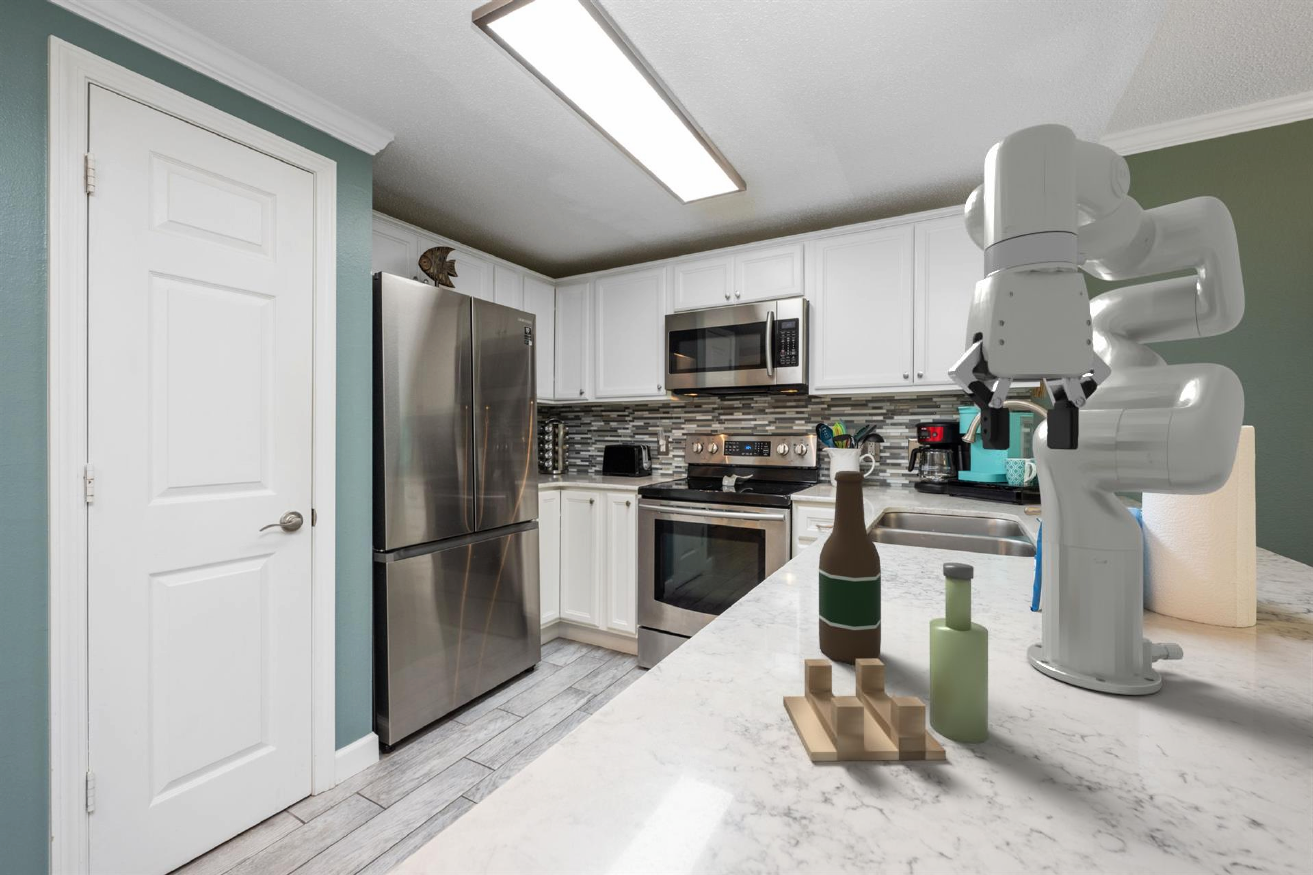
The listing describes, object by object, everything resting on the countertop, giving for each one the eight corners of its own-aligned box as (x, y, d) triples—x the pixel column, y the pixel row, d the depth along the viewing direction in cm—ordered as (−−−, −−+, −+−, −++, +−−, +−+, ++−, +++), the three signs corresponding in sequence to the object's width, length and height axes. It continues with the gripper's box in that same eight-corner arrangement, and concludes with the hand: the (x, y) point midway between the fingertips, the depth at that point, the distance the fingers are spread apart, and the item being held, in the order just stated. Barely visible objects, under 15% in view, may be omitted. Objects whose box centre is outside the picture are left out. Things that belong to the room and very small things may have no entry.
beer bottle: (887, 668, 66) (887, 474, 66) (821, 663, 67) (821, 473, 67) (875, 644, 74) (874, 469, 73) (816, 639, 75) (815, 469, 75)
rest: (894, 702, 58) (894, 658, 57) (945, 759, 48) (945, 705, 47) (783, 703, 57) (783, 659, 57) (811, 760, 47) (811, 706, 47)
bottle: (968, 714, 55) (968, 559, 55) (1000, 742, 50) (1000, 572, 50) (920, 715, 55) (919, 559, 55) (947, 743, 50) (946, 572, 50)
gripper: (1085, 276, 56) (1085, 448, 56) (921, 276, 56) (922, 448, 56) (1152, 251, 49) (1151, 450, 49) (963, 252, 48) (963, 451, 49)
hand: (1028, 447), depth 52 cm, fingers open, 5 cm apart
